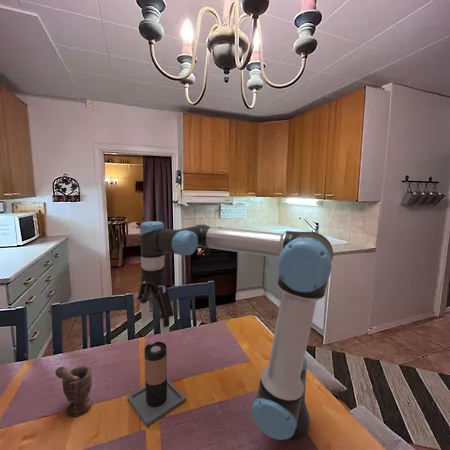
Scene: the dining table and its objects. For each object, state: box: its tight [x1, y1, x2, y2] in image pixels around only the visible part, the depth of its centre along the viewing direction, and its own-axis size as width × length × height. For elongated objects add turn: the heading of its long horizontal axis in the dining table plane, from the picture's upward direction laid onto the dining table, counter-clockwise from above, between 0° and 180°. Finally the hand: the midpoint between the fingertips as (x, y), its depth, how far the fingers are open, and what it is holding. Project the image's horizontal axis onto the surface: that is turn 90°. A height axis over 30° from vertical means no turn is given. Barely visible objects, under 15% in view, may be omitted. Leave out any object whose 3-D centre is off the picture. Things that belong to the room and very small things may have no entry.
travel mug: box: [143, 341, 168, 407], centre depth 90 cm, size 8×8×20 cm
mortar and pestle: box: [54, 365, 93, 418], centre depth 85 cm, size 12×9×20 cm
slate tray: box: [127, 378, 187, 428], centre depth 91 cm, size 15×15×2 cm
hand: (154, 327), depth 88 cm, fingers open, 13 cm apart
